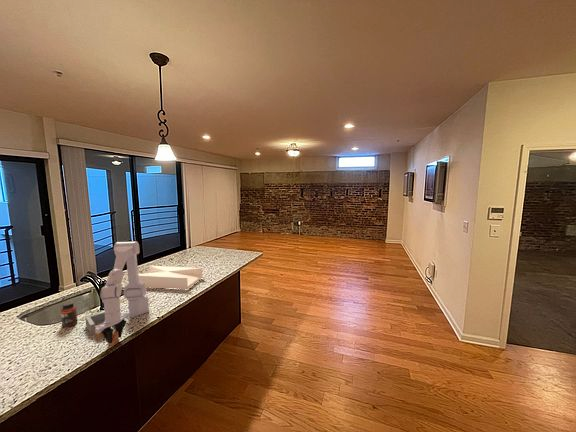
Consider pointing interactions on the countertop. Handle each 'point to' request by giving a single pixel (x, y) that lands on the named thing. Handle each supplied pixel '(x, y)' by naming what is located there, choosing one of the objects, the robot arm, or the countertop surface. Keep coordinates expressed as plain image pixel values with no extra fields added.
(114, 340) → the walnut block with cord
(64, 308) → the supplement bottle
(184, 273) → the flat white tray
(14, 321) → the countertop surface
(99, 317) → the slate lane
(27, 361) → the countertop surface
